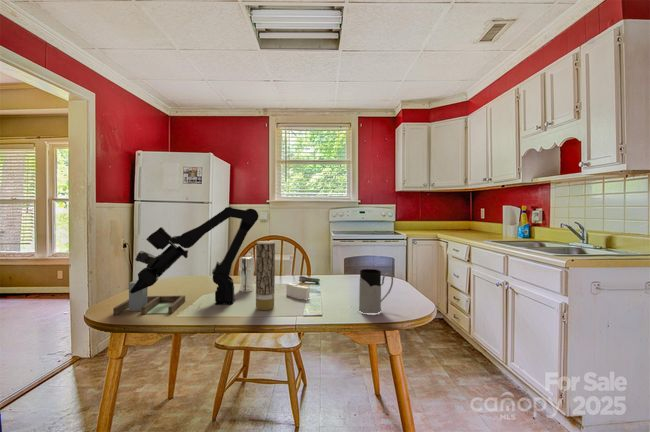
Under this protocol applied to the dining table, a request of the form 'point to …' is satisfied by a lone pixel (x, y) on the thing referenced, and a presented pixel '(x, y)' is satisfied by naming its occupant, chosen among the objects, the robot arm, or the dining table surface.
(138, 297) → the tall grey square prism
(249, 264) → the white streaked block
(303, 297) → the white rectangular block
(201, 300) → the dining table surface
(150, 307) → the comb rack
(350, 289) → the dining table surface
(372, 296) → the grey mug
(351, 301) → the dining table surface
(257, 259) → the bark textured cylinder
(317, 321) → the dining table surface
